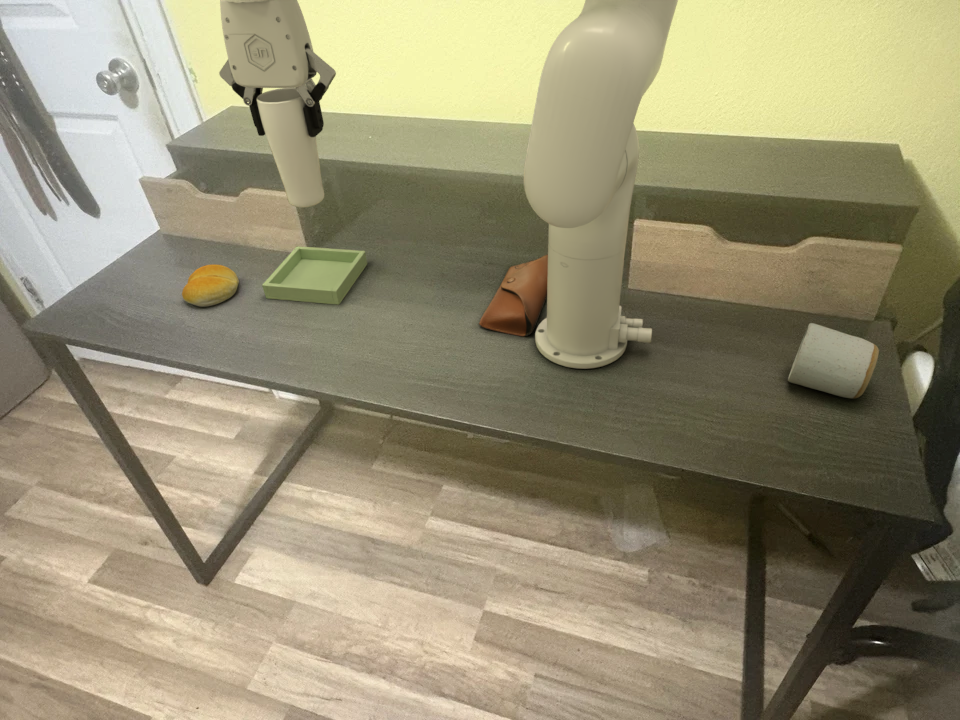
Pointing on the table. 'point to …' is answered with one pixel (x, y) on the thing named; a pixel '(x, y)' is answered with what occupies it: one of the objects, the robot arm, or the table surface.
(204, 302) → the bread roll
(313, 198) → the drinking glass
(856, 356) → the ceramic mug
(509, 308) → the sunglasses case
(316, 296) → the tray
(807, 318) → the table surface
